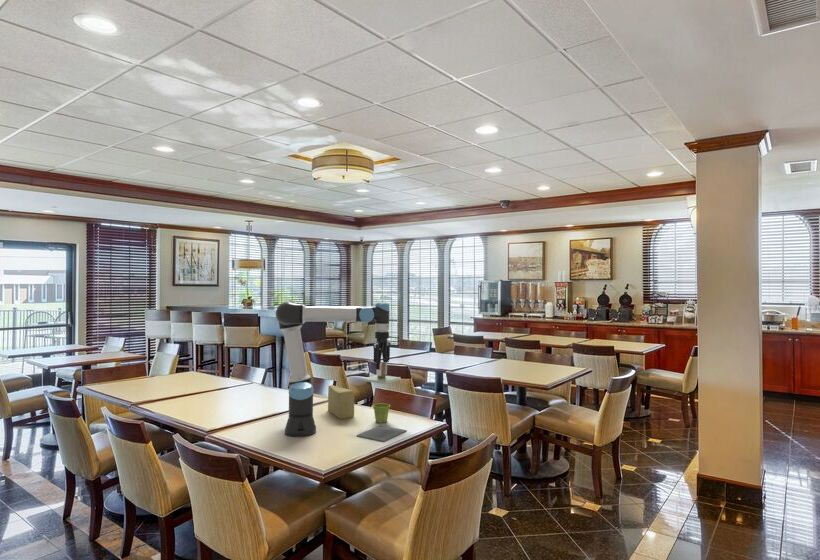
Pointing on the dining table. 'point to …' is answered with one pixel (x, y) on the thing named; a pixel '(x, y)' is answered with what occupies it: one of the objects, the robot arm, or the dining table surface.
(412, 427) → the dining table surface
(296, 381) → the robot arm
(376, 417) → the plant pot
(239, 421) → the dining table surface
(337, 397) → the cheese
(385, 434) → the mat
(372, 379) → the lid
